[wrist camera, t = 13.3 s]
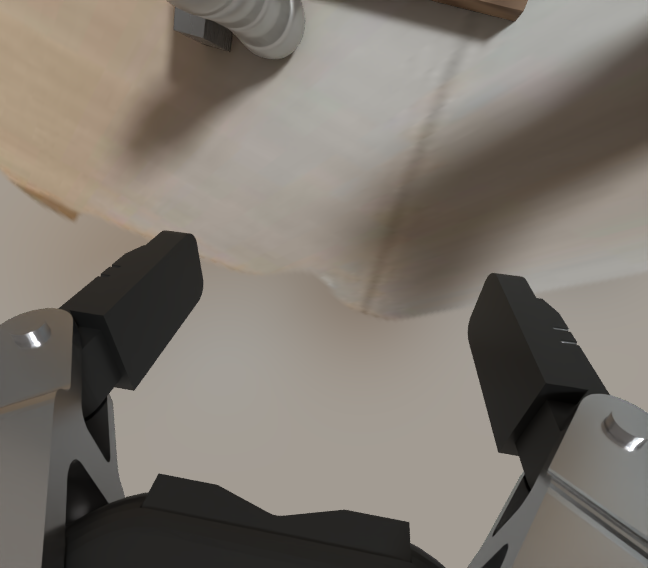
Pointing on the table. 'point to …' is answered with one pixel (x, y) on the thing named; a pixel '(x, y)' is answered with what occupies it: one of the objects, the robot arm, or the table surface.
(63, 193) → the table surface
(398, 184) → the table surface
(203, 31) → the metal end stop
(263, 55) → the plastic bottle
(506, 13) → the walnut rail
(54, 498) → the robot arm
